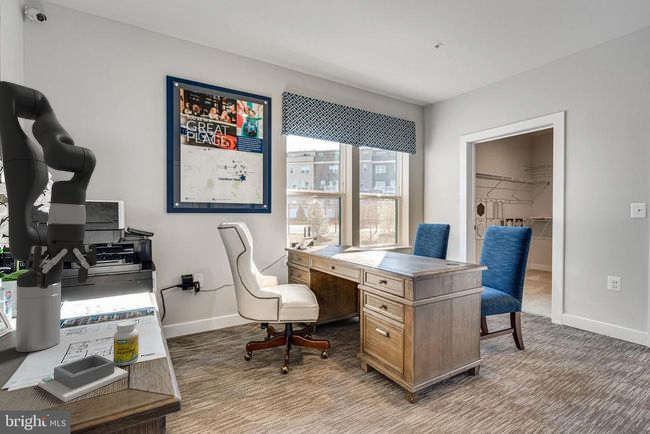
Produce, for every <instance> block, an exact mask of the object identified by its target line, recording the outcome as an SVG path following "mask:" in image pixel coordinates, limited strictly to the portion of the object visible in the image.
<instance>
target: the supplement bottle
mask: <svg viewBox="0 0 650 434" xmlns="http://www.w3.org/2000/svg"><path fill="white" fill-rule="evenodd" d="M136 326H137V325H136V321H134V320H126V321H121V322H119V323H117V324H116V332H115V333H114V334H113V358H112V359H113V360H112V361H113V362H114V366H127V365H131V364H133V363H135V362H137V360H138V359H139V340H140V339H139V335H140V334H139V330H138V329H136Z"/></svg>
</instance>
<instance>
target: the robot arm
mask: <svg viewBox="0 0 650 434" xmlns="http://www.w3.org/2000/svg"><path fill="white" fill-rule="evenodd" d="M18 118H19V119H23V120H28V121H29V120H30V121H33V124H32V125H31V134H32V135H33V138H35V140H36V142H37V143H38V144H39V145H40V146H41V148H42V151H41V149H39V147H38V146H37V145H36V144H35V142H34V141H32V140H31V138H30V137H29V135H28V134H26V132H25V131H24V130H23V128H22V126H21V124H20V121H19V119H18ZM0 143H1V144H0V145H1V157H2V168H3V178H4V183H5V189H6V192H5V193H6V197H7V199H6V200H7V209H8V210H7V211H8V212H7V213H8V215H7V217H8V222H7V223H8V225H7V227H8V231H7V233H8V234H7V235H8V247H9V252H10V255H11V257H12V258H13V259H14V260H15V261H17V262H24V261H25V262H26V261H28V262H27V271H25V272H22V273H20V274H18V276H17V277H16V303H15V304H16V307H15V309H16V310H15V351H16V352H18V353H19V352H20V353H27V352H29V353H30V352H37V351H41V350H46V349H48V348H52V347H55V346H56V345H58V344H60V342H61V310H62V309H61V306H62V304H61V303H62V300H61V299H62V275H63V272H64V263H66V262H69V263H70V262H71V263H73V262H74V263H75V264H76V265H77V267H79V268H78V269H77V270H78V271H77V283H79V284H85V283H86V281H87V280H88V279H89V276H88V275H89V269H90V268H91V267H93V266H94V267H95V266H97V254H98V253H97V248H98V247H97V244H95V243H87V244H84V240H85V235H86V220H87V218H86V217H87V211H86V200H87V199H86V198H87V190H88V186H89V184H90V181H91V178H92V176H93V174H94V171H95V169H96V165H97V157H96V155H95V153H94V152H93V150H91V149H90V148H87V147H82V146H77V145H75V142H74V138H73V137H72V136H71V135H70V134H69V132H68V131H67V129H65V128H64V126H62V124H61V123H60V121H59V119H58V118H57V115H56V113H55V112H54V109H53V106H52V105H51V103H50V100H49V99H48V98H47V96H46V95H45V94H44V93H43V92H42V91H39V90H37V89H35V88H31V87H28V86H25V85H21V84H17V83H15V82H11V81H7V80H0ZM48 167H49V168H50V169H53V170H54V171H59V172H67V173H73V175H72V177H71V178H70V179H67V180H56V181H54V182H53V183H52V184H51V188H50V190H51V191H50V202H49V209H48V214H47V225H43V226H41V225H39V226H38V225H37V226H32V225H31V224H30V217H31V216H30V215H31V211H32V209H33V206H34V205H35V203H36V202H37V200H38V199H39V198H40V197H41V195H42V194H43V193H44V191H45V190H46V189H47V187H48V184H49V182H50V176H49V170H48V169H49V168H48ZM83 251H84V252H85V253H86V254H85V256H86V257H84V256H83Z"/></svg>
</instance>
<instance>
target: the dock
mask: <svg viewBox="0 0 650 434" xmlns="http://www.w3.org/2000/svg"><path fill="white" fill-rule="evenodd" d="M128 376H129V371H127V370H125V369H123V368H120V367H118V366H117V365H115V364H114V360H110V359H109V358H106V357H104V356H101V355H98V353H95V354H92V355H89V356H86V357H82V358H80V359H76V360H74V361H71V362H68V363H64V364H62V365H58V366H56V367H54V368H53V375H52V376H49V375H48V376H45V377H43V378H42V379H40V380H38V382H37V384H38V387H40V388H41V389H42V390H45V391H46V392H48V393H50V394H51V395H52V396H54V397H56V398H57V399H59V400H61V401H62V402H64V403H66V402H69V401H72V400H74V399H76V398H78V397H81V396H83V395H86V394H88V393H91V392H93V391H95V390H98V389H101V388H102V387H104V386H107V385H110V384H112V383H115V382H117V381H119V380H122V379H124V378H126V377H128Z"/></svg>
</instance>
